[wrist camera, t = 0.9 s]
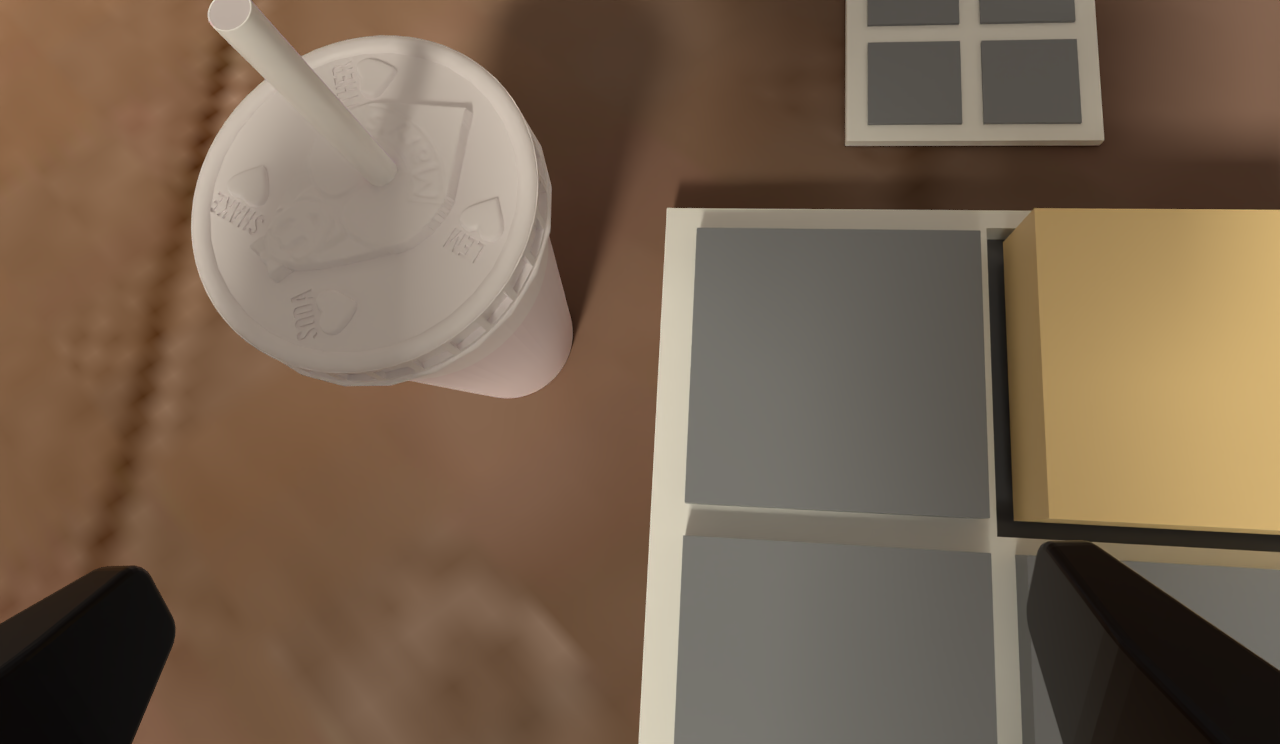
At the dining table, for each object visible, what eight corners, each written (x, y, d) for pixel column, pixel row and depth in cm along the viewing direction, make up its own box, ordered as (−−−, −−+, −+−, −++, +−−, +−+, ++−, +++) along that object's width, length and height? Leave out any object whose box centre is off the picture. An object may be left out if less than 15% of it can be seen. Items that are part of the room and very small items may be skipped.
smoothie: (663, 353, 22) (561, 61, 9) (483, 491, 22) (87, 413, 8) (535, 191, 24) (276, -273, 10) (364, 320, 24) (-134, 19, 10)
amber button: (1337, 538, 18) (1418, 537, 16) (1013, 521, 19) (1049, 518, 17) (1302, 246, 20) (1371, 210, 18) (1002, 242, 21) (1034, 208, 19)
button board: (1444, 1390, 16) (1543, 1507, 14) (616, 1250, 18) (603, 1336, 16) (1304, 230, 21) (1362, 199, 19) (670, 224, 23) (664, 195, 21)
